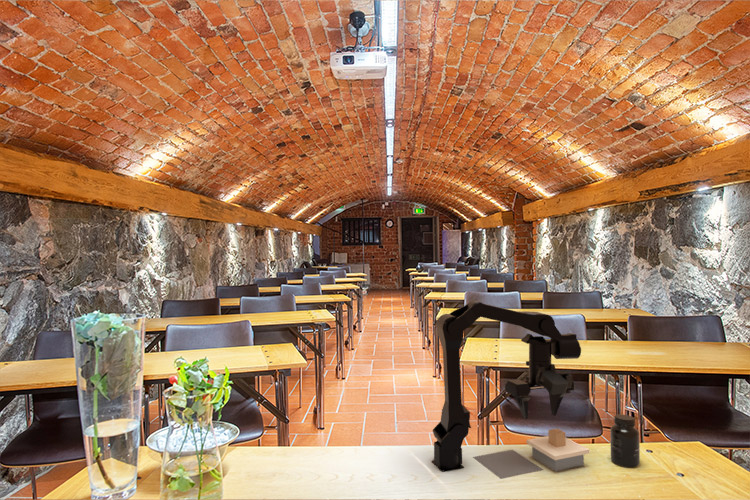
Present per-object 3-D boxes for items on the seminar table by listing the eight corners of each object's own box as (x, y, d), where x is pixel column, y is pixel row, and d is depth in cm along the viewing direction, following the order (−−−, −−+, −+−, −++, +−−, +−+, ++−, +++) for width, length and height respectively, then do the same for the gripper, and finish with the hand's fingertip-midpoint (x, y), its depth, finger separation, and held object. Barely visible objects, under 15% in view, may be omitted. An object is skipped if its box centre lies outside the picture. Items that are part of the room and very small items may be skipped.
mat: (500, 480, 114) (500, 478, 114) (472, 458, 126) (472, 456, 126) (543, 471, 118) (543, 469, 118) (512, 451, 131) (512, 449, 131)
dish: (555, 473, 117) (555, 457, 117) (532, 459, 126) (532, 444, 126) (583, 467, 120) (583, 452, 120) (559, 453, 129) (558, 439, 129)
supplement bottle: (643, 469, 119) (643, 422, 119) (615, 467, 120) (614, 421, 120) (634, 457, 126) (633, 413, 126) (607, 455, 127) (606, 412, 127)
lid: (554, 460, 116) (554, 442, 116) (526, 443, 126) (526, 426, 126) (589, 453, 120) (589, 435, 120) (559, 437, 130) (558, 421, 130)
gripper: (530, 368, 115) (530, 432, 115) (590, 363, 121) (590, 423, 121) (503, 359, 125) (503, 417, 125) (560, 354, 131) (560, 409, 131)
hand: (539, 417), depth 125 cm, fingers open, 9 cm apart
